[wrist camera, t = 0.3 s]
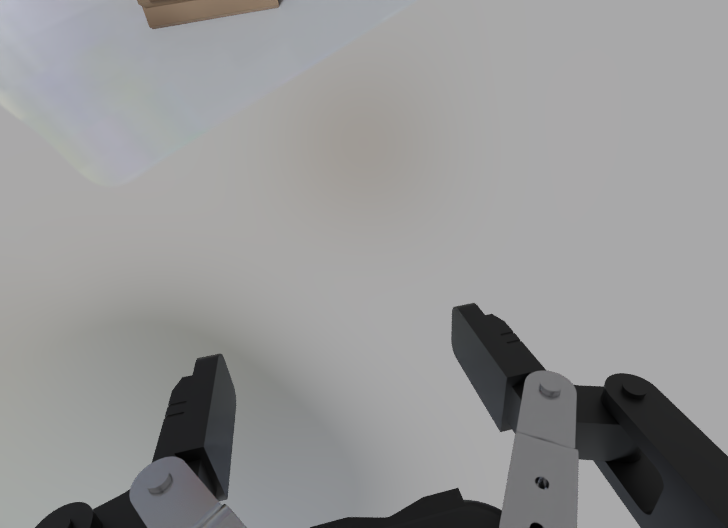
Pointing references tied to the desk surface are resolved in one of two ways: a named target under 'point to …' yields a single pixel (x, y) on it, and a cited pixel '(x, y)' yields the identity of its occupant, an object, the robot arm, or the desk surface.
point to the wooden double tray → (198, 10)
